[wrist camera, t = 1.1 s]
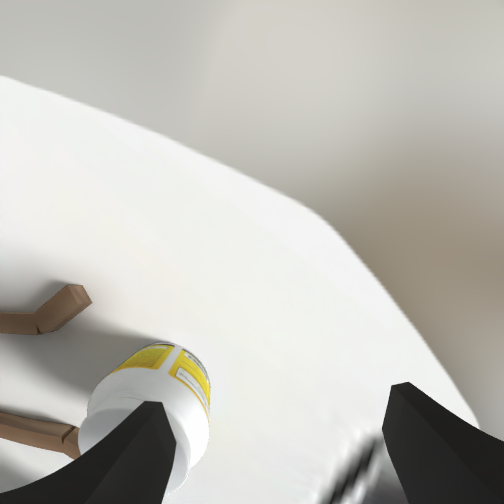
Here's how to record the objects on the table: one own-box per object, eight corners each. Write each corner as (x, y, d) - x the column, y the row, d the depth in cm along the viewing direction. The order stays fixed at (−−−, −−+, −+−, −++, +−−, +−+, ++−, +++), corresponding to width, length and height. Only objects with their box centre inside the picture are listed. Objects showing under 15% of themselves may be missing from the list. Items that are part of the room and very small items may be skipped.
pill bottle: (119, 401, 19) (55, 474, 8) (140, 328, 20) (71, 361, 9) (196, 430, 20) (186, 526, 9) (222, 358, 20) (229, 423, 10)
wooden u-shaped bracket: (123, 463, 18) (115, 478, 16) (-8, 437, 16) (-21, 445, 14) (91, 285, 20) (76, 284, 18) (-36, 291, 18) (-53, 290, 16)
